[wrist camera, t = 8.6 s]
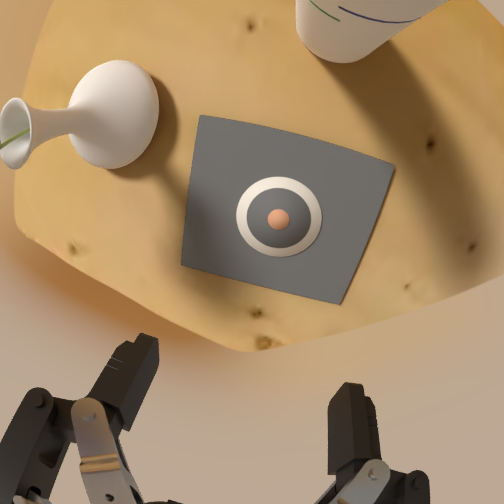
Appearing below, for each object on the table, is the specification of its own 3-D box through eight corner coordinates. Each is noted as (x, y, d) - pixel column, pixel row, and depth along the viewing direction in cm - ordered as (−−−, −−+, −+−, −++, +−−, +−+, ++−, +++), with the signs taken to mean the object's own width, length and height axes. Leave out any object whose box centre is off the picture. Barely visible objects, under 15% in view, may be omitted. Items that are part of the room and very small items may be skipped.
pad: (392, 164, 23) (396, 166, 22) (338, 301, 30) (339, 306, 30) (201, 115, 23) (198, 115, 22) (182, 262, 31) (179, 266, 30)
